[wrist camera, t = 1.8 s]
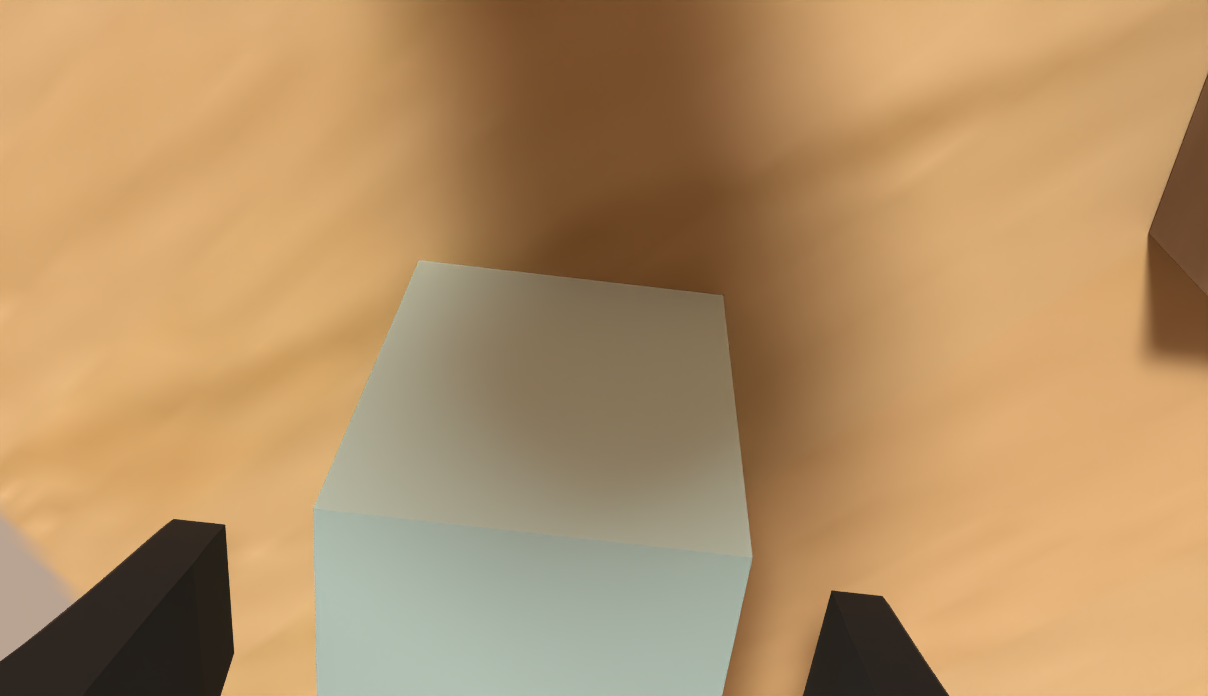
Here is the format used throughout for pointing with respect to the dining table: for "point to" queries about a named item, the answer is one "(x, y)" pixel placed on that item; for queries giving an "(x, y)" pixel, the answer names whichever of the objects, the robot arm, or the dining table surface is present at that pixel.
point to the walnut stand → (1188, 201)
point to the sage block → (536, 496)
